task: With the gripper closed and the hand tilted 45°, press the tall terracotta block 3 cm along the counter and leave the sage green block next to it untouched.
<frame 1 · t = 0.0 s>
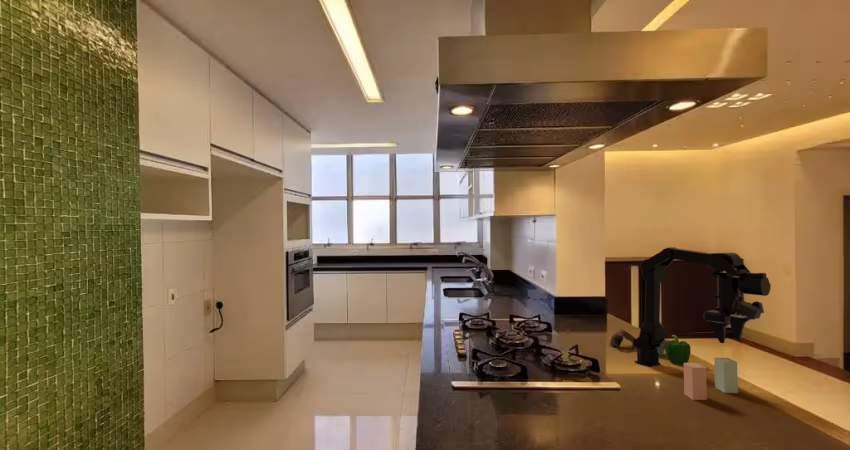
hand: (729, 341, 134), 15 cm above the countertop, tool pointing down, fingers open, 9 cm apart
terracotta block: (694, 381, 127), point 5 cm above the countertop, slide at 0.0 cm
sage block: (725, 374, 132), point 5 cm above the countertop, slide at 0.0 cm
bell pepper: (678, 363, 160), on the countertop
cupcake: (656, 354, 171), on the countertop
headphones: (621, 347, 182), on the countertop
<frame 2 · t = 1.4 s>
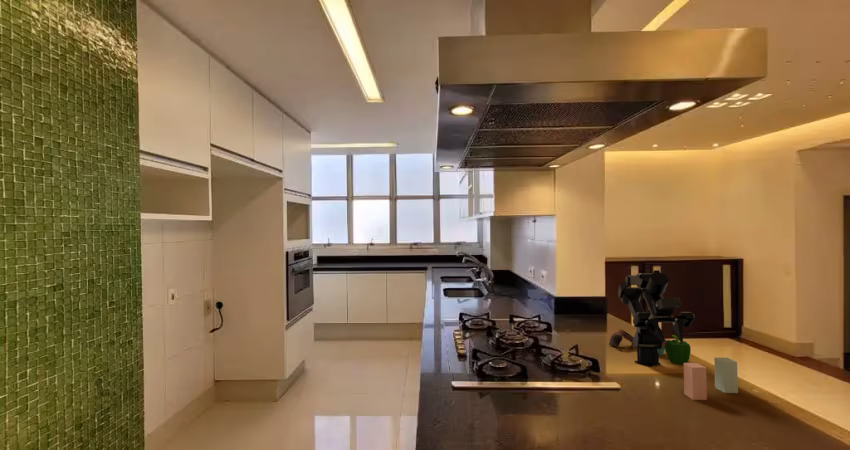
hand: (673, 341, 139), 14 cm above the countertop, tool tilted 45°, fingers open, 5 cm apart
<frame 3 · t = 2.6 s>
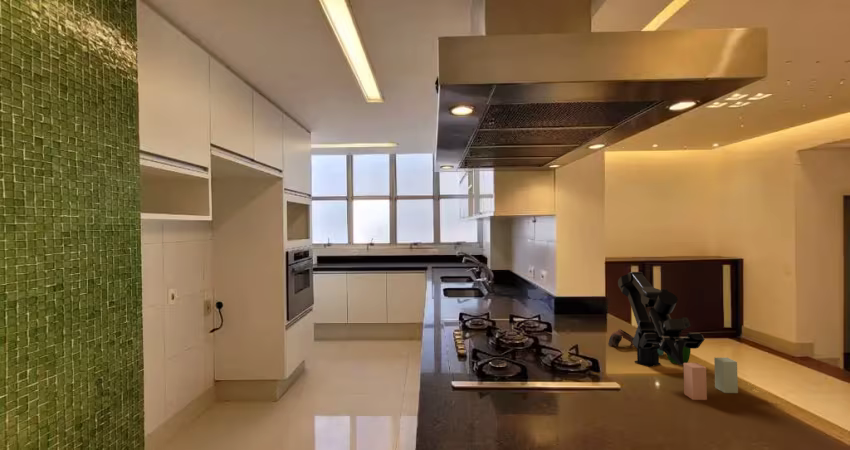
hand: (681, 364, 134), 8 cm above the countertop, tool tilted 45°, fingers closed
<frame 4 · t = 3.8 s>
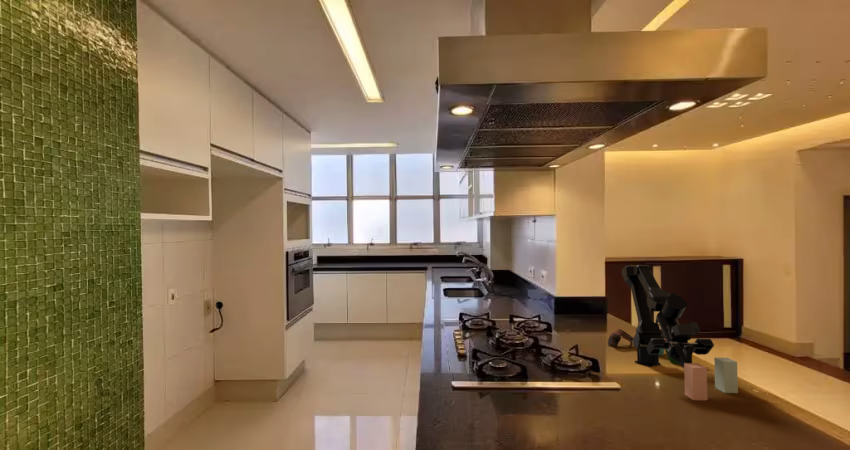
hand: (690, 371, 129), 7 cm above the countertop, tool tilted 45°, fingers closed, pressing on terracotta block
terracotta block: (695, 381, 126), point 5 cm above the countertop, slide at 0.4 cm, touching gripper
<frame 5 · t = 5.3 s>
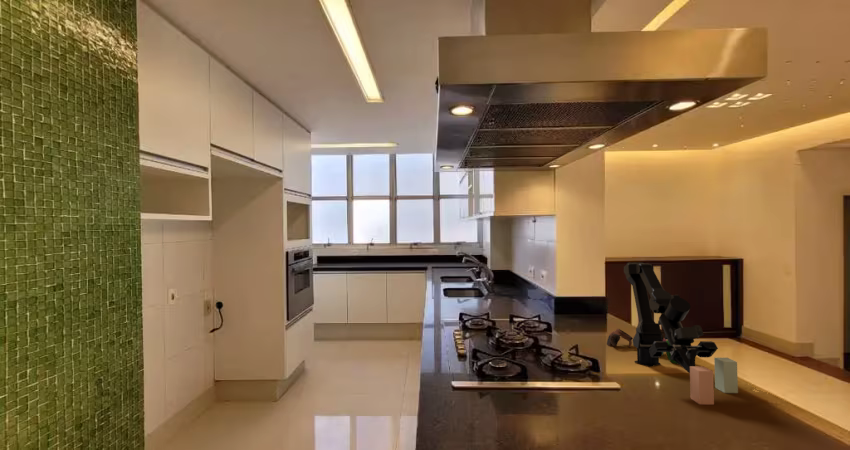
hand: (693, 374, 127), 6 cm above the countertop, tool tilted 45°, fingers closed
terracotta block: (701, 384, 123), point 5 cm above the countertop, slide at 3.3 cm
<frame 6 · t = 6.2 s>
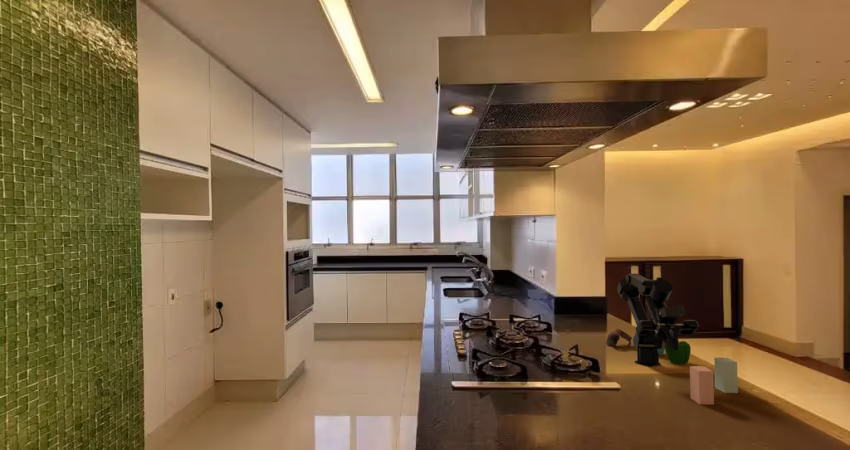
hand: (676, 350, 137), 11 cm above the countertop, tool tilted 45°, fingers closed
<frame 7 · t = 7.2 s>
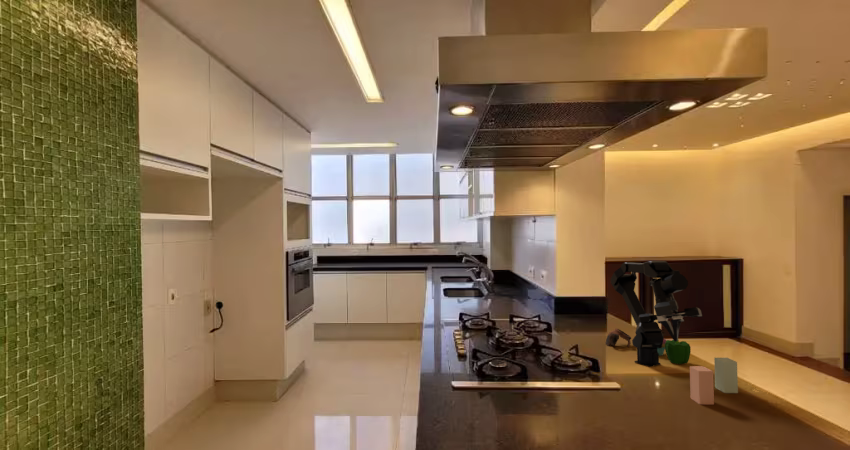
hand: (675, 341, 144), 12 cm above the countertop, tool tilted 20°, fingers closed
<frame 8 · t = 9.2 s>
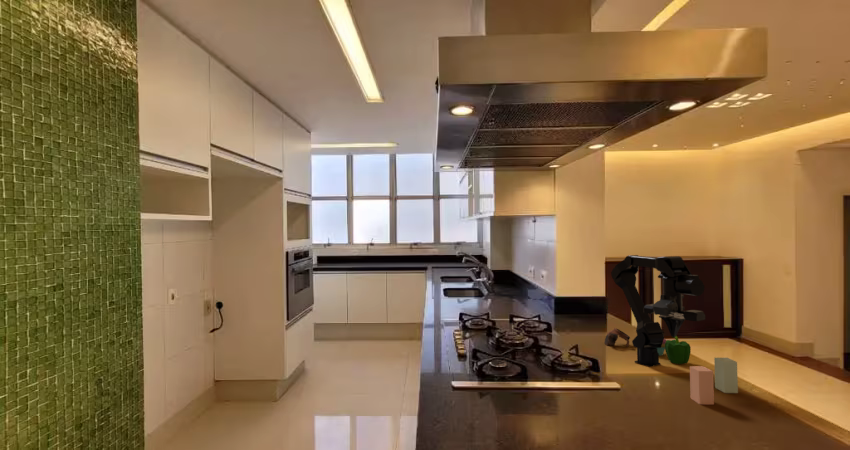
hand: (673, 336, 147), 13 cm above the countertop, tool pointing down, fingers closed
at the end: terracotta block slide at 3.3 cm; sage block slide at 0.0 cm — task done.
